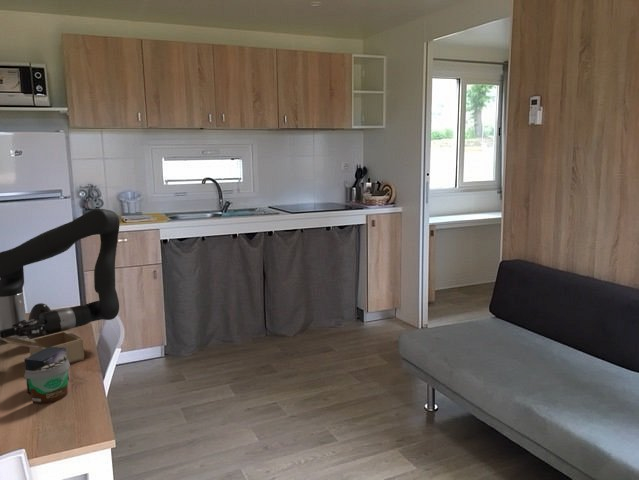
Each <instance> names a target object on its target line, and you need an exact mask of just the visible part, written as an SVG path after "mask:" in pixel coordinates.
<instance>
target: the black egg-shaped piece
mask: <svg viewBox="0 0 639 480" xmlns="http://www.w3.org/2000/svg"><path fill="white" fill-rule="evenodd" d="M49 311H52V310H51V307H49V306H48V305H47V304H45V303H43V302H40V303H39V302H38V303H36V304H35V305H33V307H32V308H31V309H30V313H29V316H28V320H27V321H29V320H32V319H34V320H38V319H39V316H40V314H41V313H44V312H49ZM42 336H46V335H44V334H43V333H42V332H39V335H37V336H36V335H35V336H27V337H26V338H28V340H30V339H34V338H38V337H42Z"/></svg>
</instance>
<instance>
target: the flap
mask: <svg viewBox="0 0 639 480" xmlns="http://www.w3.org/2000/svg"><path fill="white" fill-rule="evenodd" d="M0 338H1V337H0ZM1 339H3V340H4V341H3V342H5V343H8V344H10V345H11V344H12V345H17V346H21V347H28V348H29V347H32V348H37V349H39V347H38V346H36V345H35V344H33V343H31V342H30V341H28V340H29V339H25V338H23V339H21V338H16V337H11V336H10V337H5V338H1Z"/></svg>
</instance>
